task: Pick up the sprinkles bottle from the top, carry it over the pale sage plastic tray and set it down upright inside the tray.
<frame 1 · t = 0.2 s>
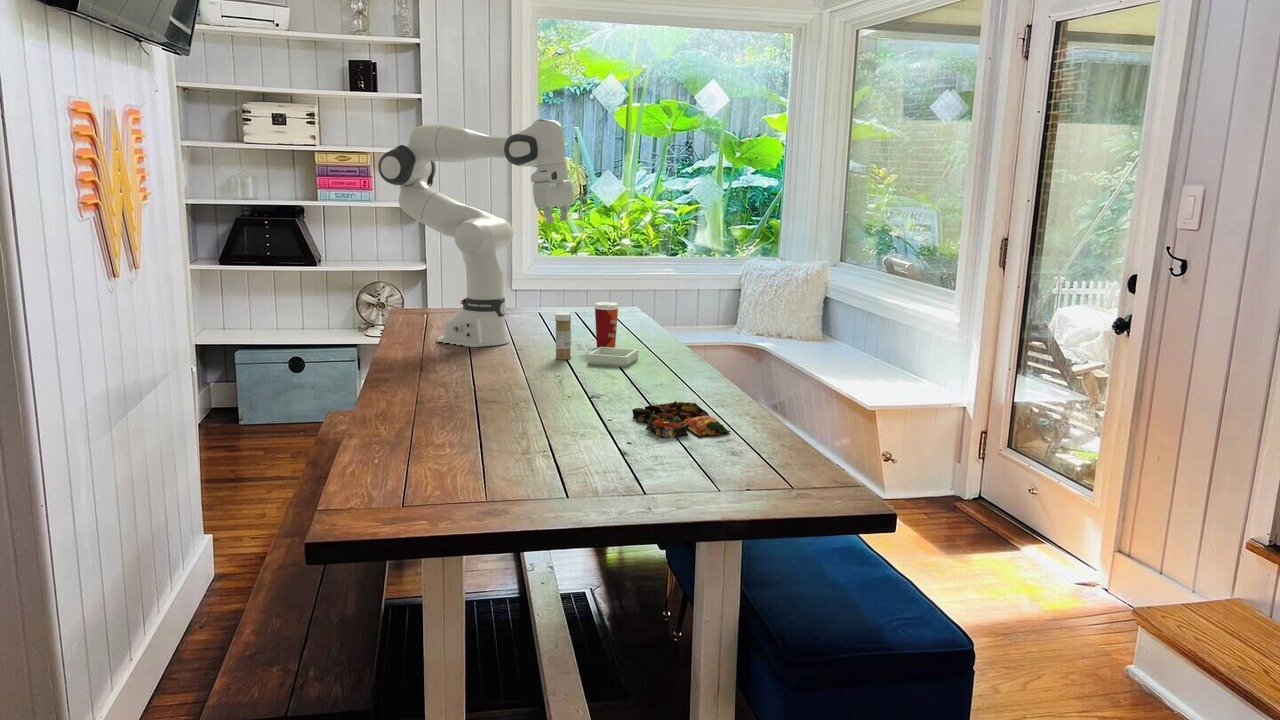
hand: (557, 222, 276), 38 cm above the table, tool pointing down, fingers open, 8 cm apart
tray: (613, 361, 267), on the table
food: (678, 427, 205), on the table
paper cup: (605, 348, 286), on the table
sprinkles bottle: (563, 359, 270), on the table
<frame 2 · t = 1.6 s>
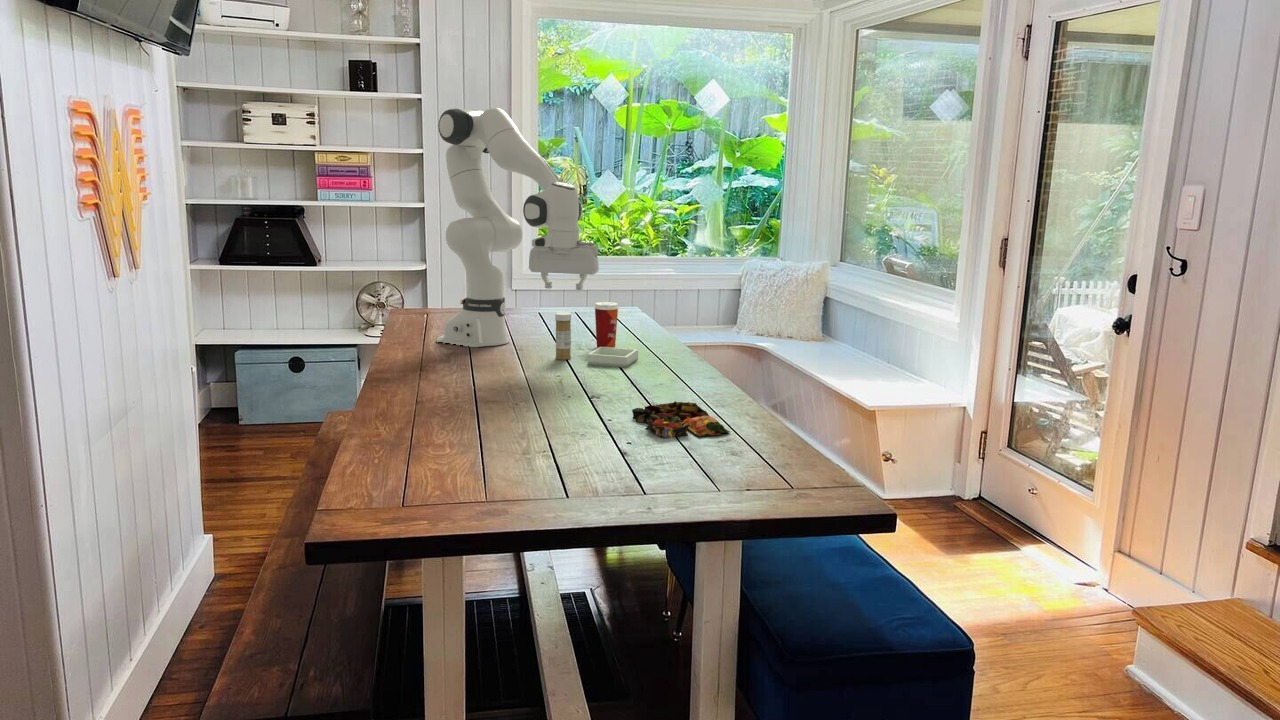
hand: (563, 289, 265), 20 cm above the table, tool pointing down, fingers open, 8 cm apart
nothing on the table moved.
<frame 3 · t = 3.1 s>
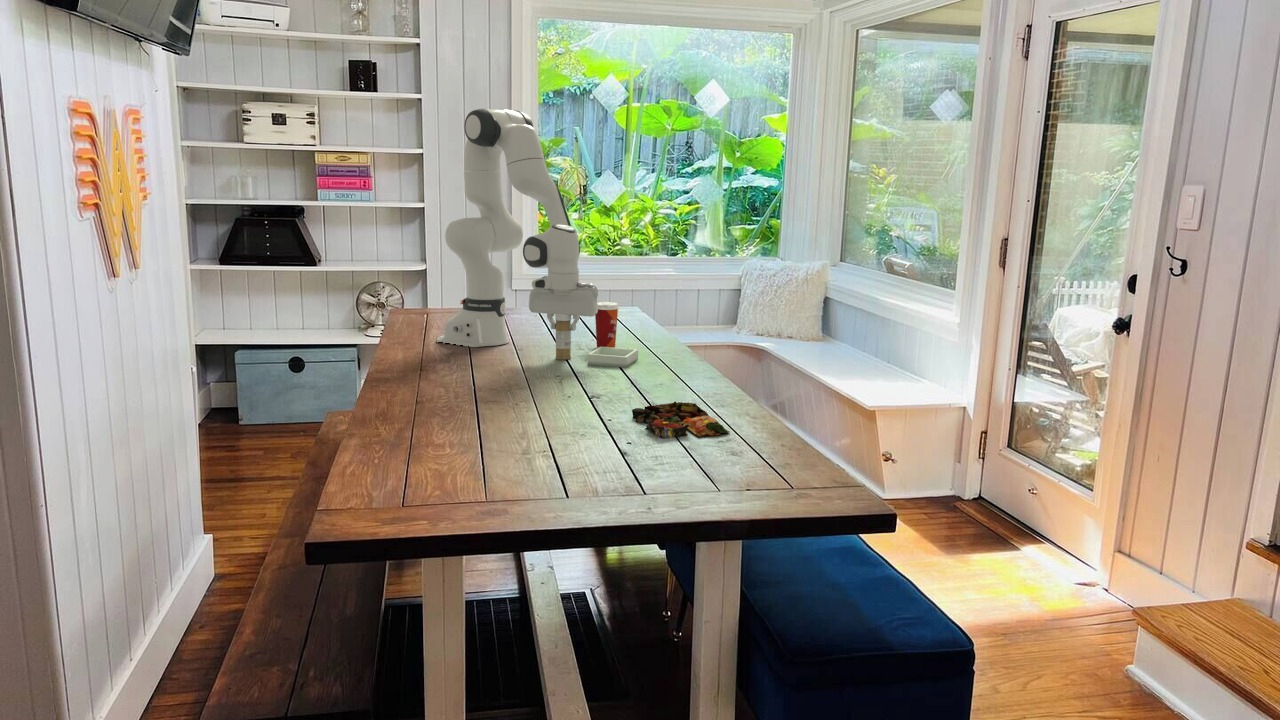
hand: (563, 329, 268), 9 cm above the table, tool pointing down, fingers closed on sprinkles bottle, 4 cm apart
sprinkles bottle: (563, 359, 270), on the table, touching gripper
everything else where it was.
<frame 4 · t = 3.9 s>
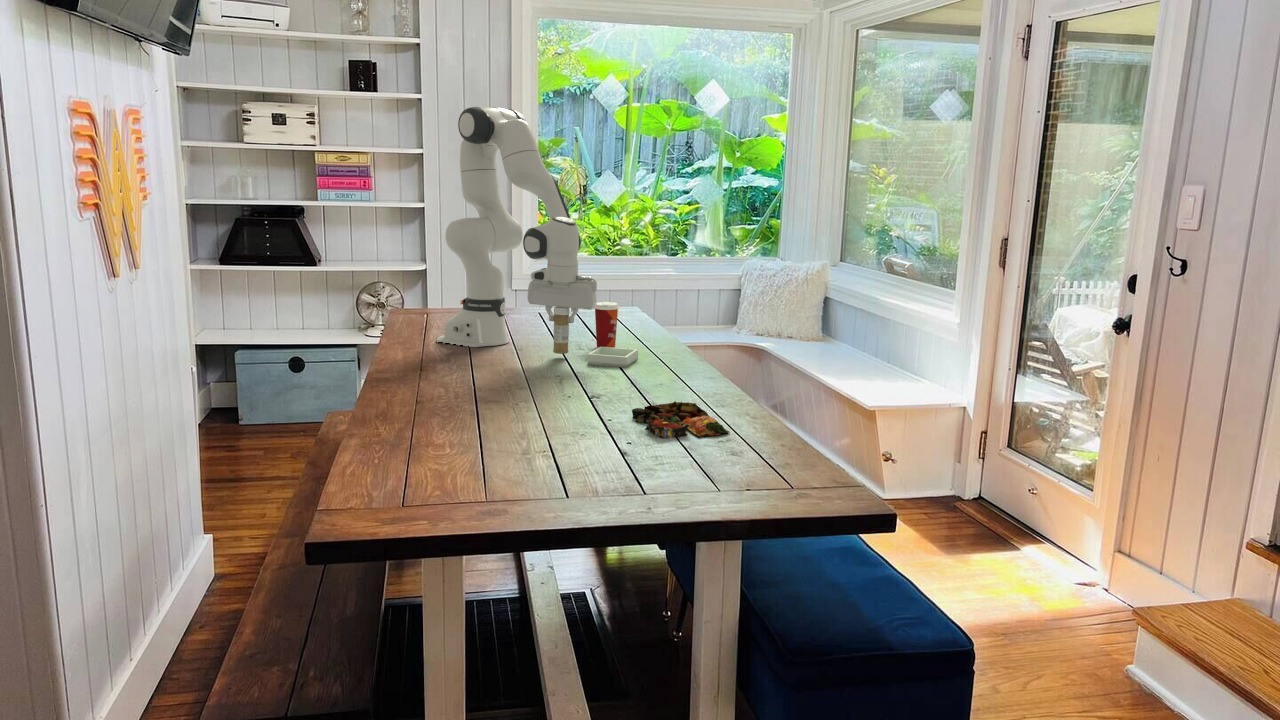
hand: (561, 321, 268), 11 cm above the table, tool pointing down, fingers closed on sprinkles bottle, 4 cm apart
sprinkles bottle: (560, 353, 270), point 1 cm above the table, touching gripper
everything else where it was.
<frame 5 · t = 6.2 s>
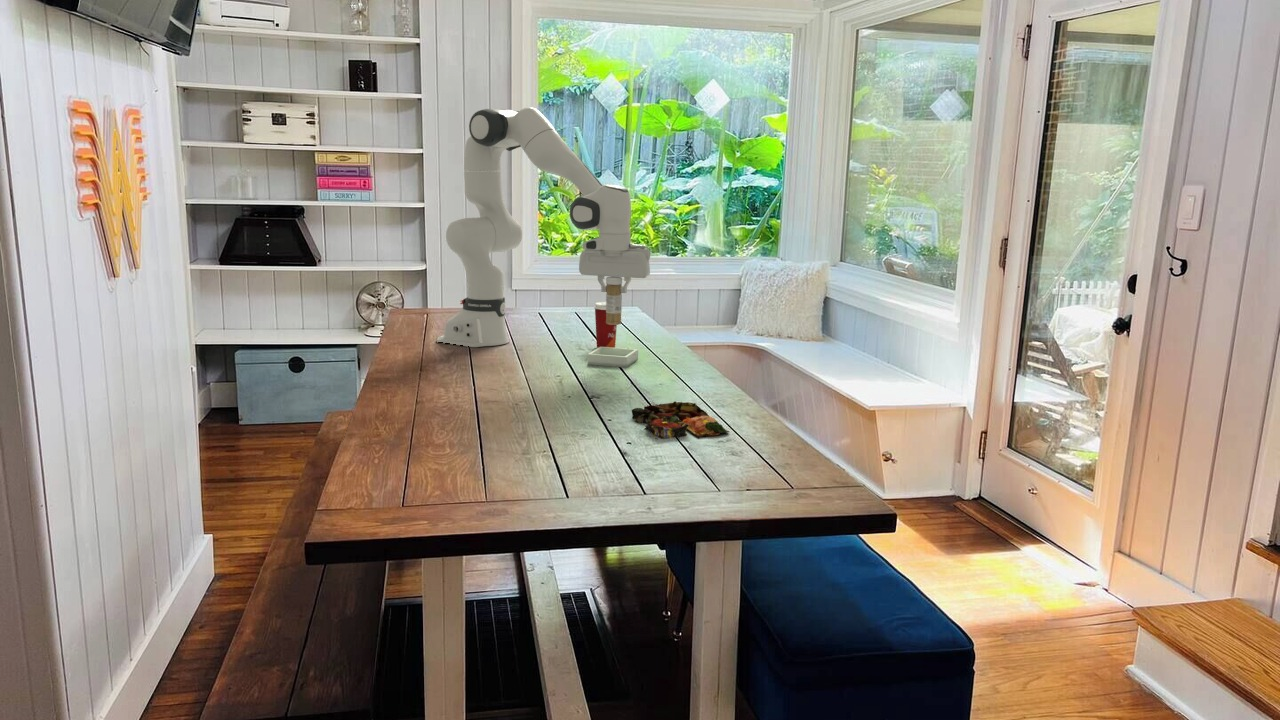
hand: (614, 292, 262), 20 cm above the table, tool pointing down, fingers closed on sprinkles bottle, 4 cm apart
sprinkles bottle: (613, 324, 264), point 11 cm above the table, touching gripper
everything else where it was.
when the fingers open (11 cm above the table, at t = 8.6 s): sprinkles bottle stays where it is, resting on tray.
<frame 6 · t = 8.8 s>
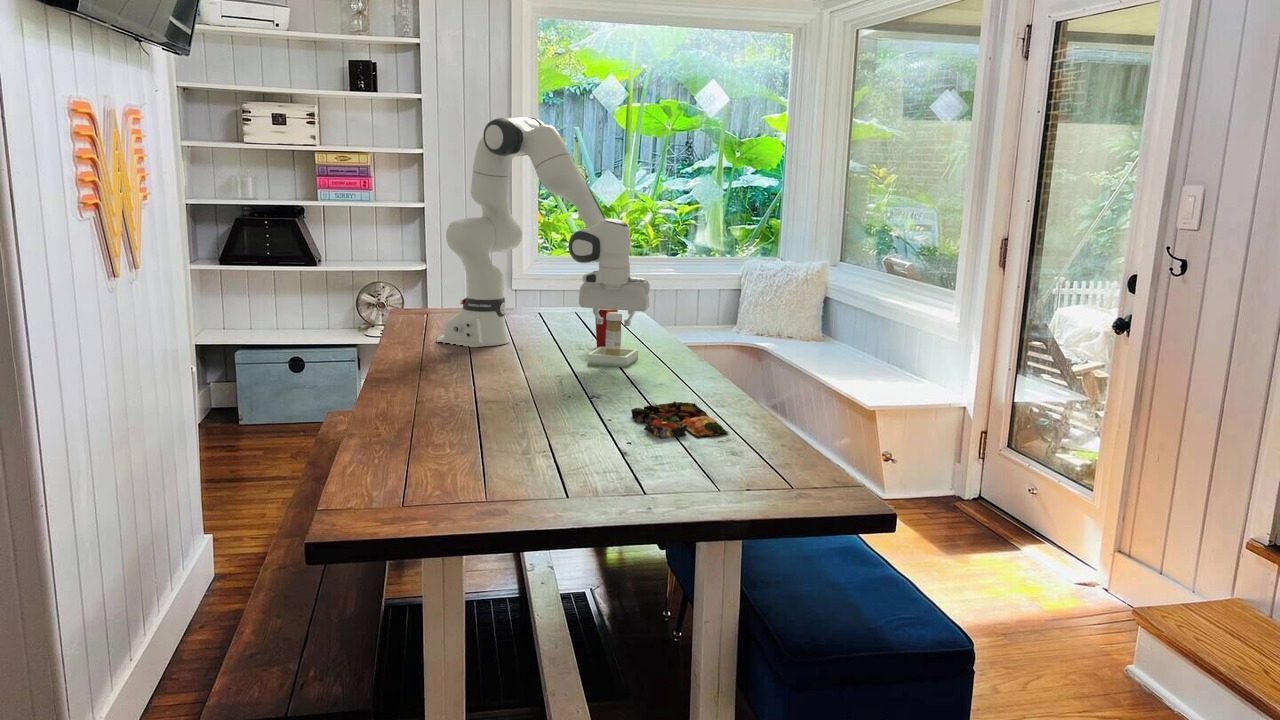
hand: (613, 324, 264), 11 cm above the table, tool pointing down, fingers open, 7 cm apart
sprinkles bottle: (612, 359, 267), point 1 cm above the table, touching tray
everything else where it was.
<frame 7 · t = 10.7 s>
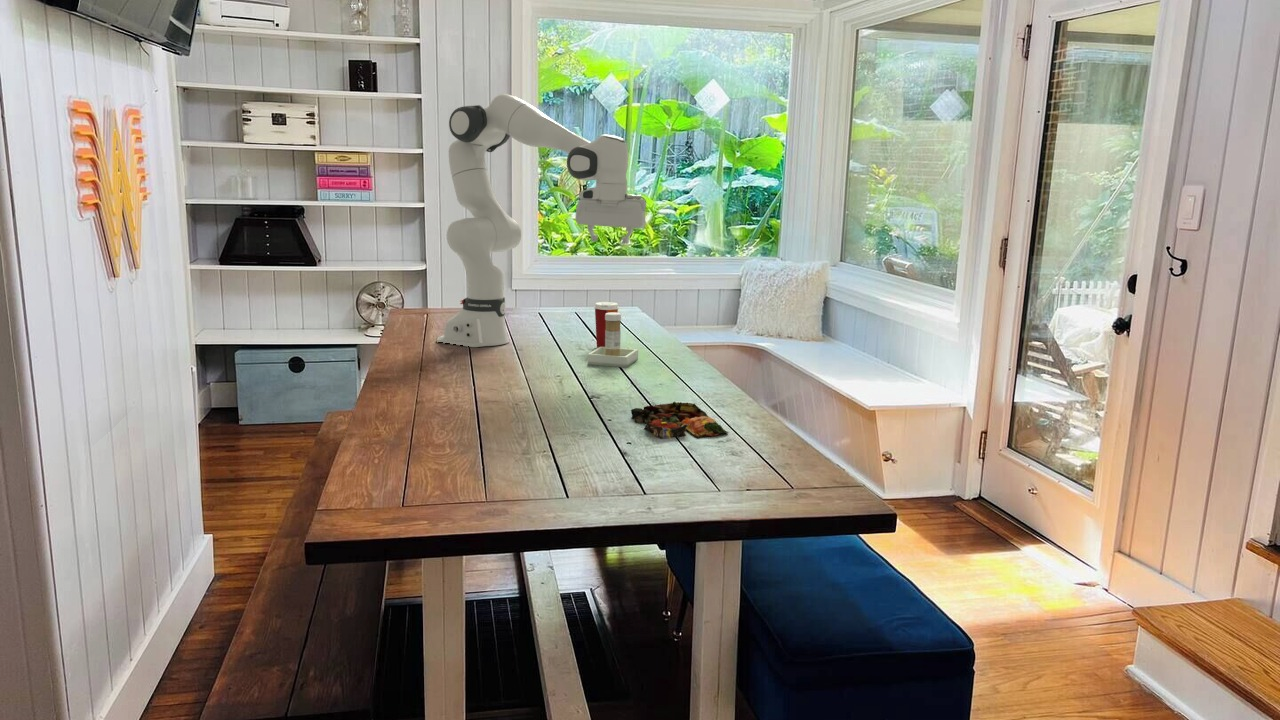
hand: (609, 242, 265), 34 cm above the table, tool pointing down, fingers open, 8 cm apart
nothing on the table moved.
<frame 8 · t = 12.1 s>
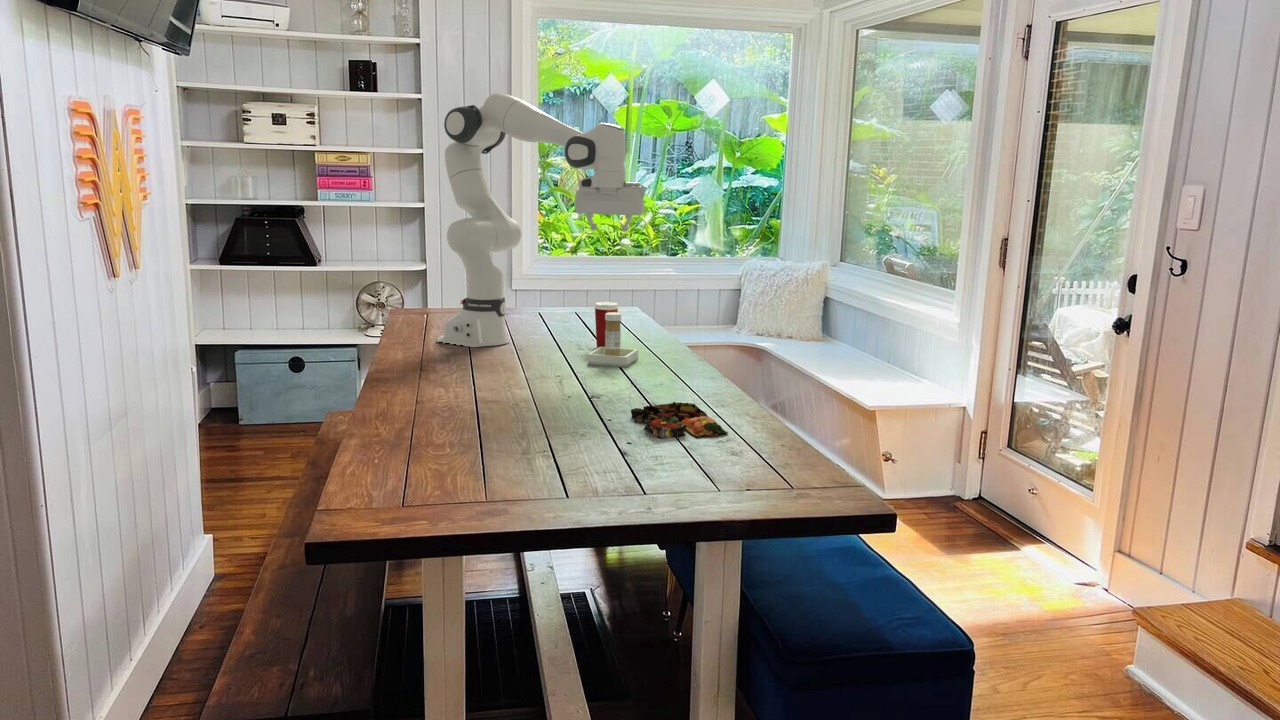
hand: (609, 230, 266), 37 cm above the table, tool pointing down, fingers open, 8 cm apart
nothing on the table moved.
at the end: sprinkles bottle inside the target area on the tray (0.2 cm from its centre), point 0.6 cm above the tray's base; sprinkles bottle tilted 0°; the gripper is holding nothing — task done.
